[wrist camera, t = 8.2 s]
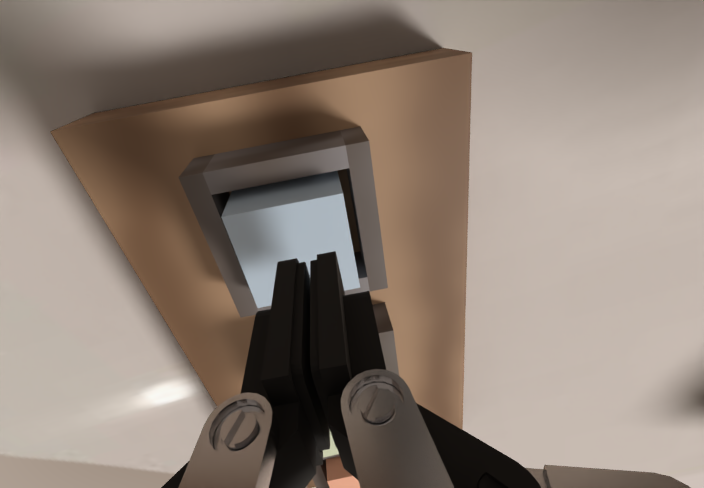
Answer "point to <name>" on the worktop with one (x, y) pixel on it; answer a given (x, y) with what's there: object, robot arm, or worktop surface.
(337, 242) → the blue button
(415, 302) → the console
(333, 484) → the terracotta button
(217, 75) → the worktop surface
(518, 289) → the worktop surface
